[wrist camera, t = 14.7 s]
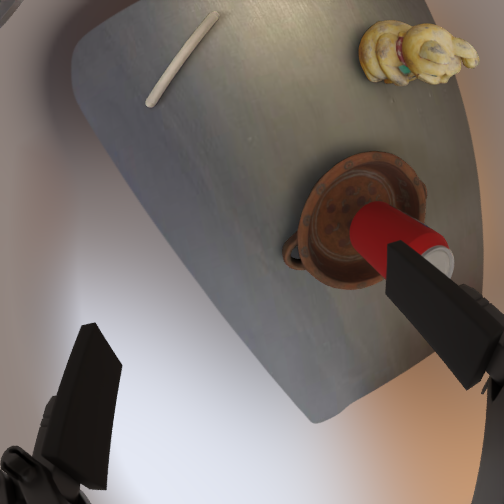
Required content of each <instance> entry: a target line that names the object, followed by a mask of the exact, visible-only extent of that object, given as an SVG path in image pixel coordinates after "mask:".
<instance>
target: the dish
mask: <svg viewBox="0 0 504 504" xmlns="http://www.w3.org/2000/svg"><path fill="white" fill-rule="evenodd" d="M426 198H427V189H426V186H425V184H424V183H423V182H422V181H421V180H420V179H419V178H418V176H417V174H416V173H415V171H414V170H413V169H412V168H411V167H410V166H409V165H408V164H407V163H406V162H404V161H403V160H402V159H401V158H399V157H397V156H395V155H393V154H390V153H386V152H379V151H370V152H364V153H359V154H356V155H353V156H351V157H348V158H346V159H344V160H343V161H341V162H339V163H338V164H336V165H335V166H334V167H333V168H332V169H330V170H329V171H328V172H327V173H325V174H324V175H323V176H322V177H321V178H320V179H319V180H318V182H317V183H316V184H315V186H314V187H313V189H312V191H311V193H310V195H309V197H308V199H307V201H306V203H305V206H304V208H303V211H302V214H301V218H300V222H299V226H298V231H297V232H296V233H294V234H293V235H292V236H291V237H290V238H289V239H288V240H287V241H286V242H285V244H284V246H283V249H282V255H283V259H284V262H285V263H286V265H288V266H289V267H290V268H292V269H295V270H307V271H308V272H309V273H310V274H311V275H312V276H314V277H315V278H316V279H317V280H319V281H320V282H322V283H324V284H326V285H328V286H331V287H333V288H338V289H346V290H355V289H362V288H365V287H368V286H371V285H374V284H376V283H378V282H380V281H382V280H384V279H385V278H384V277H383V276H382V275H381V274H380V273H379V272H378V271H377V270H376V269H375V268H373V267H372V266H371V265H370V264H369V263H368V262H367V261H366V260H365V259H364V258H363V257H362V256H361V255H360V254H359V253H358V252H357V251H356V250H355V249H354V247H353V246H352V244H351V241H350V226H351V223H352V220H353V218H354V216H355V215H356V213H357V212H358V211H359V210H360V209H361V208H362V207H363V206H365V205H366V204H368V203H371V202H374V201H382V202H385V203H388V204H390V205H391V206H393V207H395V208H397V209H399V210H401V211H402V212H404V213H406V214H408V215H409V216H411V217H413V218H415V219H416V220H418V221H420V222H421V223H423V224H424V221H425V214H426V213H425V209H426ZM296 246H298V251H299V256H300V259H295V258H292V257H291V252H292V250H293V249H294V248H295V247H296Z"/></svg>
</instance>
